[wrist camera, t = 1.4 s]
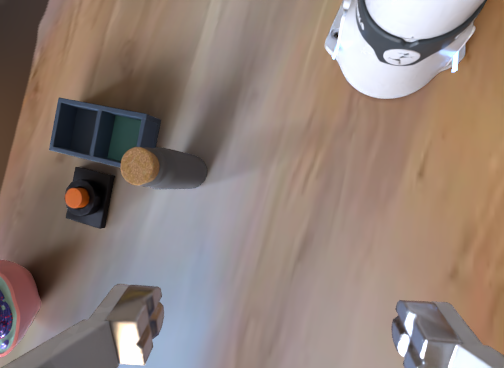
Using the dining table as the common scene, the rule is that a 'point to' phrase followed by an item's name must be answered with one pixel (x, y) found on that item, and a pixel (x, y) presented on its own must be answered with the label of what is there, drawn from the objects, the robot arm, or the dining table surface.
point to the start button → (77, 197)
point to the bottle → (162, 168)
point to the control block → (92, 197)
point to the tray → (100, 131)
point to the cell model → (16, 304)
